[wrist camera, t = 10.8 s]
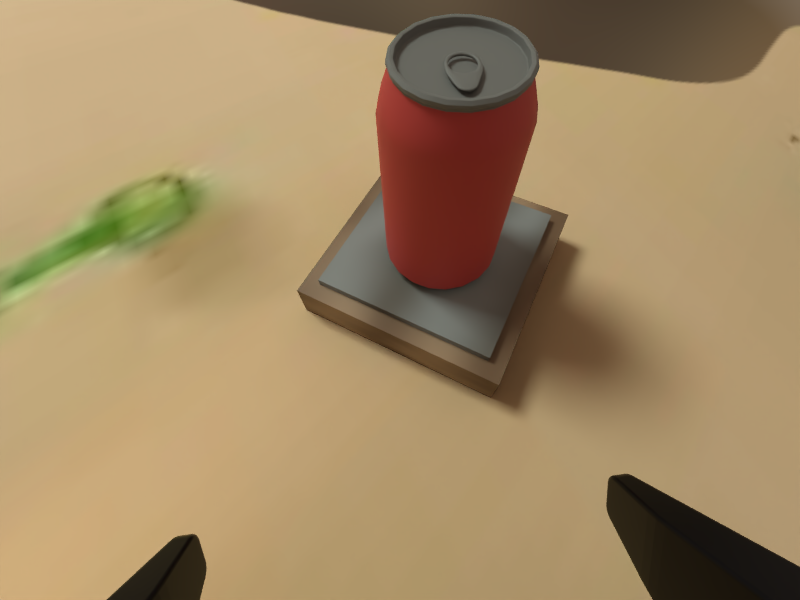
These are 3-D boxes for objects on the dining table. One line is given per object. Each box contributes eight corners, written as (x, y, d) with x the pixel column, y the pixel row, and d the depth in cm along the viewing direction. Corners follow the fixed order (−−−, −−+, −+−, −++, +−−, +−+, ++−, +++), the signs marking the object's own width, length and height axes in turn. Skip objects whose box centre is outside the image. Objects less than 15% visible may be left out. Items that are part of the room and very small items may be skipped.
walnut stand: (556, 237, 29) (570, 209, 26) (490, 397, 24) (500, 382, 21) (396, 179, 32) (395, 149, 29) (306, 309, 27) (295, 286, 24)
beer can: (389, 297, 23) (372, 118, 13) (385, 210, 27) (369, 9, 16) (501, 291, 23) (576, 107, 13) (484, 205, 27) (533, 1, 16)
